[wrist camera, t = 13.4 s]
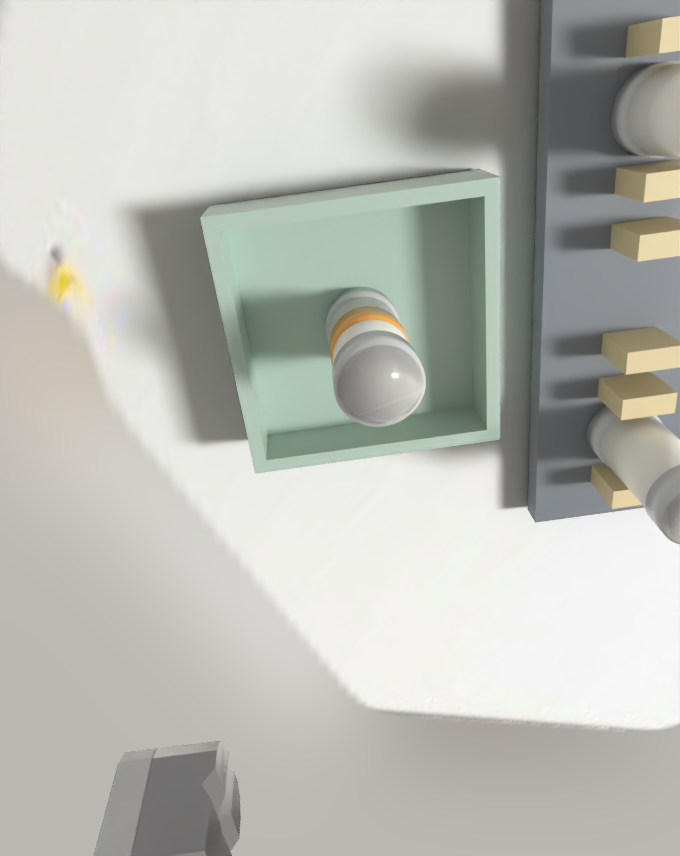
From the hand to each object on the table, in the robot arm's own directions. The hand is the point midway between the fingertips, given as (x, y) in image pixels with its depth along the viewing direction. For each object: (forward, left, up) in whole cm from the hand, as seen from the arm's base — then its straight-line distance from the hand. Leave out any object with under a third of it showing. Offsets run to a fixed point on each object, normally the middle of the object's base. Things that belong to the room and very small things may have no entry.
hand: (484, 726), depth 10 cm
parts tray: (0, 0, -21) cm, 21 cm away
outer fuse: (+7, +12, -20) cm, 24 cm away
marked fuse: (0, 0, -20) cm, 20 cm away
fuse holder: (0, +12, -21) cm, 24 cm away
